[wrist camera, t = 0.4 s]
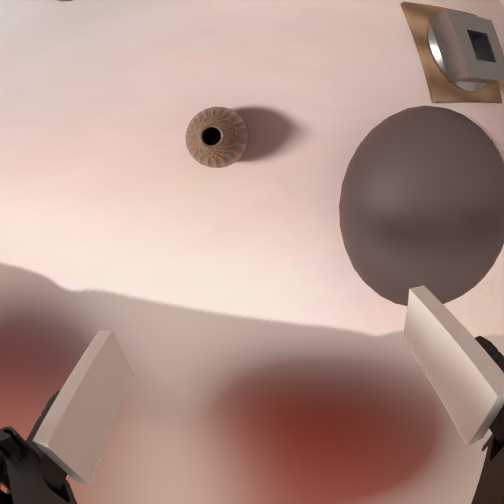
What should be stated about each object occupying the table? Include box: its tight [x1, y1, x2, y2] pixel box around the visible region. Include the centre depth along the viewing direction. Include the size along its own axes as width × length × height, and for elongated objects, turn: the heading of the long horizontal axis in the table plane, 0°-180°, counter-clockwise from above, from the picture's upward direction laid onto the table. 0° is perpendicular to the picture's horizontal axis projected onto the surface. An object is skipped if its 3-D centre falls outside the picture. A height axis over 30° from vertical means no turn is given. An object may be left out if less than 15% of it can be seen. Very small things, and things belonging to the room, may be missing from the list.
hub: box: [427, 10, 504, 92], centre depth 25 cm, size 13×13×6 cm
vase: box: [186, 107, 249, 168], centre depth 30 cm, size 7×7×9 cm
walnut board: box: [401, 2, 502, 102], centre depth 28 cm, size 16×16×1 cm
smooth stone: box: [339, 106, 504, 306], centre depth 30 cm, size 25×25×15 cm
